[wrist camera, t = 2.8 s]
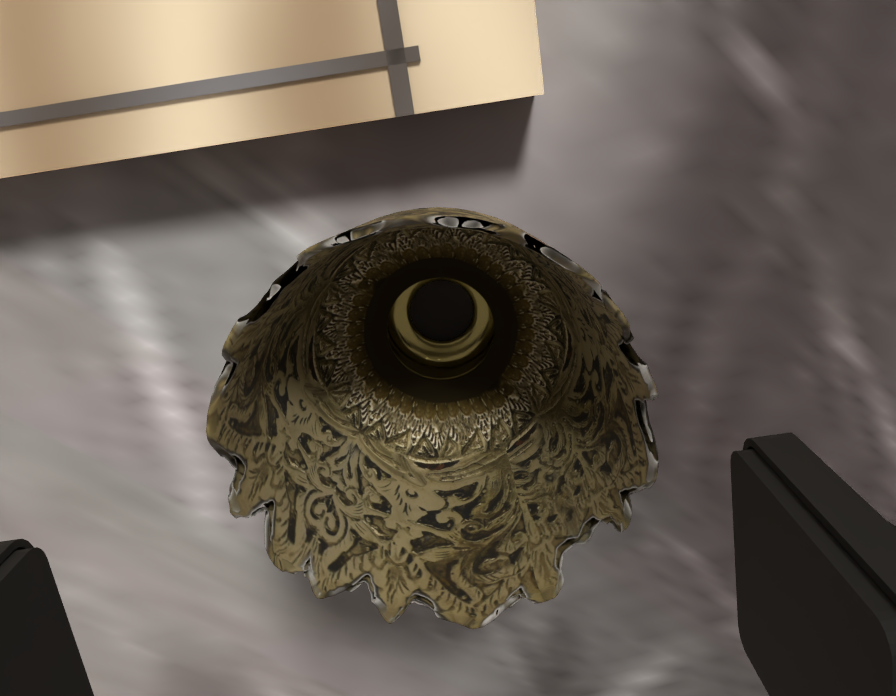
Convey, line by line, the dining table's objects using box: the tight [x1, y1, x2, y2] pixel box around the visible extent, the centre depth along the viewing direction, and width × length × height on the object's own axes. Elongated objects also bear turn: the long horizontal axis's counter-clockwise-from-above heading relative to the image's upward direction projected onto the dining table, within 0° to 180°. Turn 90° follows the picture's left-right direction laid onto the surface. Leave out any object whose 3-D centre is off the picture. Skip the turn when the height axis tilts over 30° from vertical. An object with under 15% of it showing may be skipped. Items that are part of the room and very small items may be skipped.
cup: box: [206, 207, 659, 629], centre depth 17 cm, size 8×7×8 cm
